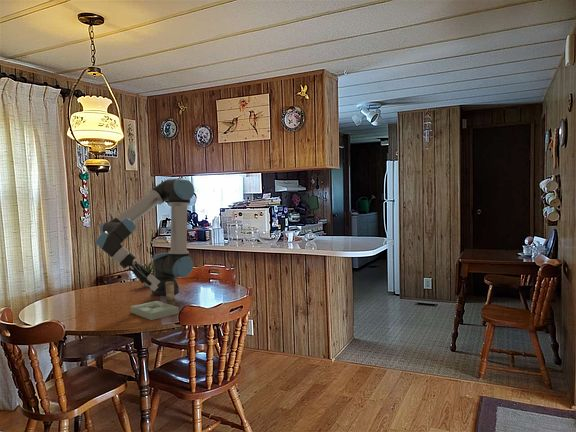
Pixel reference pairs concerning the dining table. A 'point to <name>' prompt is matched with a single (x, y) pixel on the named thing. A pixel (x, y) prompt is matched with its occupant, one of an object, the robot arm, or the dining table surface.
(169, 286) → the peg
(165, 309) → the seat plank
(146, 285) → the house plant
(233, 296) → the dining table surface
